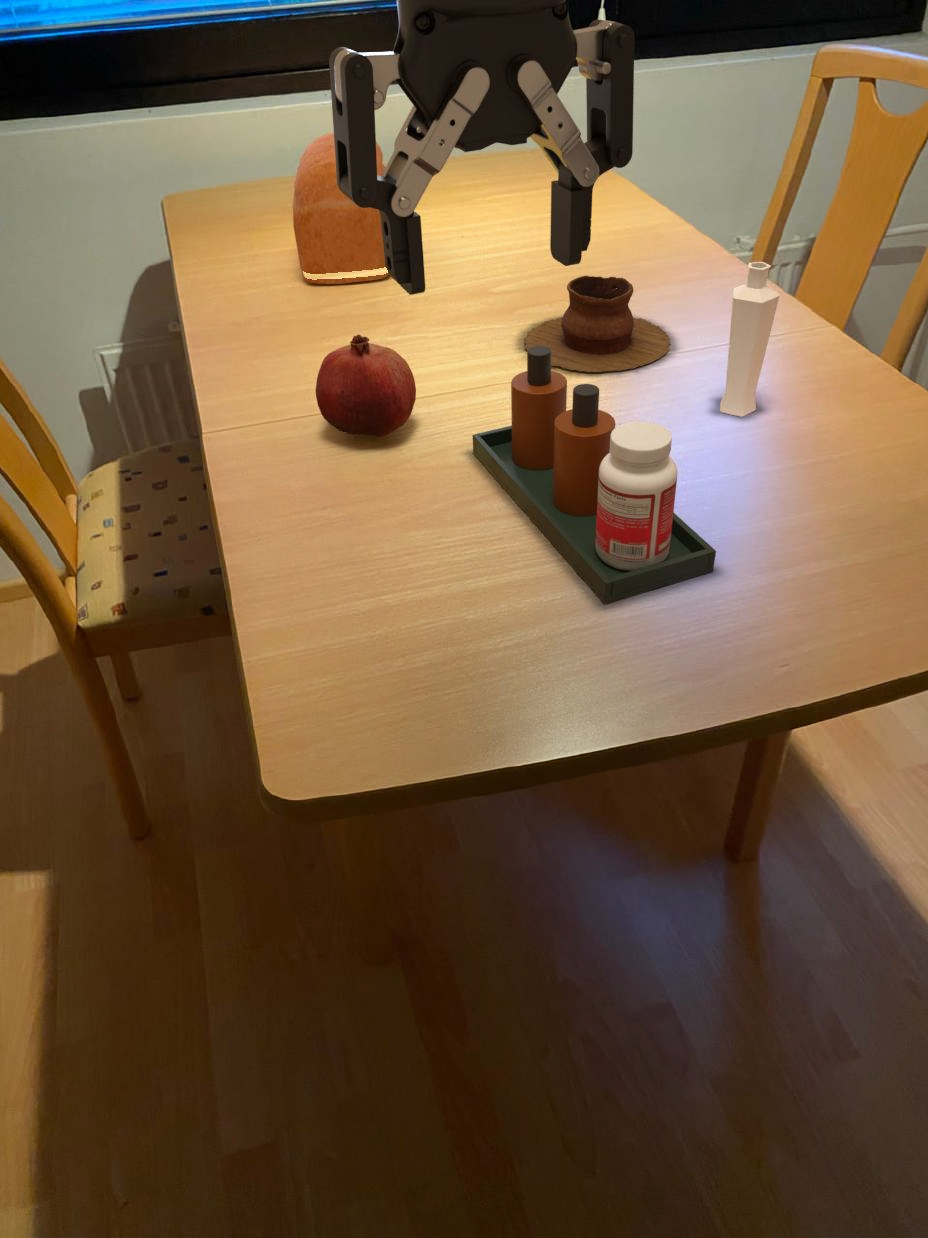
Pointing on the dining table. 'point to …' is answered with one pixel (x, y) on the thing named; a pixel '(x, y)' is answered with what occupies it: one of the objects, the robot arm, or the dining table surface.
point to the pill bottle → (636, 497)
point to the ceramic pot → (599, 329)
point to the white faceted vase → (748, 339)
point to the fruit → (365, 389)
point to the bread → (333, 219)
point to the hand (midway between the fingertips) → (490, 274)
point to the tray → (587, 528)
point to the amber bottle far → (536, 410)
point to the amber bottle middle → (580, 452)
